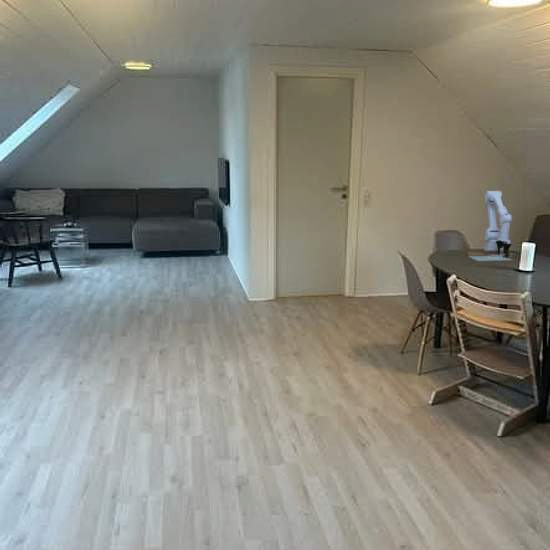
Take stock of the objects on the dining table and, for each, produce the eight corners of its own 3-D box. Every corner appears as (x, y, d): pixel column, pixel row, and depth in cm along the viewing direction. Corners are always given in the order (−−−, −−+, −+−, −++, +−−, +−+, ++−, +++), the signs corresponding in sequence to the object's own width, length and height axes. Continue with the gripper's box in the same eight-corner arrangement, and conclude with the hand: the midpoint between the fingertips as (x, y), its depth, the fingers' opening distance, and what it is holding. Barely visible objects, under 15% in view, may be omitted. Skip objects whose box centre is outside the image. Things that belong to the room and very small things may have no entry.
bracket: (501, 256, 384) (502, 247, 382) (505, 257, 379) (506, 249, 377) (487, 256, 383) (488, 247, 381) (491, 258, 378) (492, 249, 376)
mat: (467, 256, 385) (467, 255, 385) (503, 255, 388) (503, 255, 388) (477, 261, 370) (477, 260, 370) (515, 260, 372) (515, 259, 372)
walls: (467, 256, 385) (467, 250, 384) (503, 255, 388) (503, 250, 387) (477, 261, 370) (478, 255, 369) (515, 260, 372) (516, 254, 372)
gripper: (493, 231, 384) (491, 250, 387) (504, 234, 370) (502, 254, 373) (503, 230, 384) (501, 250, 388) (514, 234, 370) (512, 254, 374)
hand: (502, 252), depth 380 cm, fingers open, 7 cm apart
